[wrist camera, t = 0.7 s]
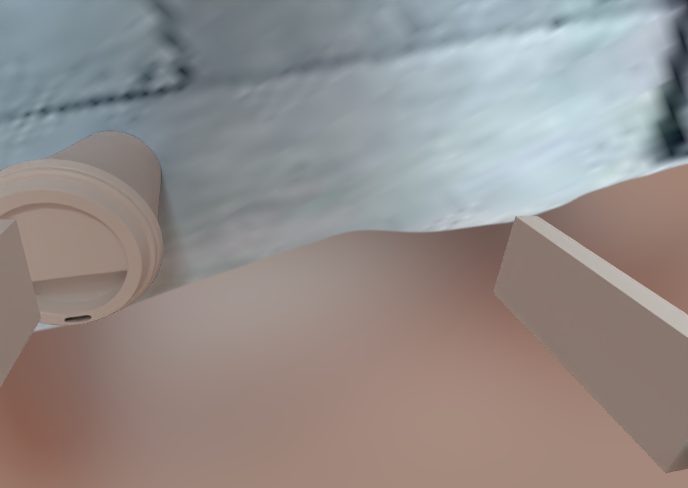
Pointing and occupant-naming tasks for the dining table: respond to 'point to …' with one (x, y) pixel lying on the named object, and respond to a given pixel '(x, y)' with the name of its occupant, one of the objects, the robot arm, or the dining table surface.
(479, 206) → the dining table surface
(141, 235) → the coffee cup
